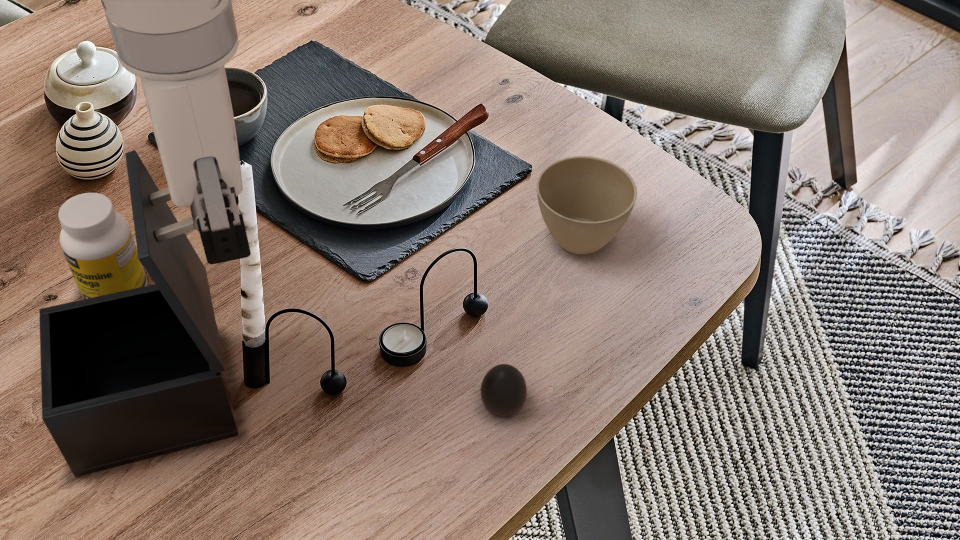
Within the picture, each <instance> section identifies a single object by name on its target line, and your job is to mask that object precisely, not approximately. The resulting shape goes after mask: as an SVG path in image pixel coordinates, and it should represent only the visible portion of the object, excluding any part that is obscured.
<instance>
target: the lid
mask: <svg viewBox="0 0 960 540" xmlns="http://www.w3.org/2000/svg"><path fill="white" fill-rule="evenodd" d="M124 154H125V155H124V156H125V163H126V170H127V179H128V187H129V194H130V203H131V211H132V219H133V228H134V236H135V245H136V248H137V252H138V259H139V261H140V262H141V264H142V265H143V269H144V271H146V272H147V275H148V276H149V277H150V279H151V280H152V282H153V283H154V284H155V285H156V286H157V288H158V289H159V290H160V292H161V293H162V295H163V296H164V298H165V299H166V301H167V302H168V304H169V305H170V307H171V308H172V310H173V311H174V313H175V314H176V316H177V317H178V319H179V320H180V322H181V323H182V325H183V326H184V328H185V329H186V331H187V332H188V334H189V335H190V336H191V338H192V339H193V341H194V342H195V344H196V345H197V347H198V348H199V350H200V351H201V353H202V354H203V356H204V357H205V359H206V360H207V362H208V363H209V365H210V366H211V368H212V369H213V371H214V372H215V373H219V372H222V371H224V370H225V368H224V363H223V357H222V352H221V347H220V341H219V336H218V331H217V327H218V324H217V325H216V323H217V320H216V315H215V310H214V305H213V299H212V295H211V294H212V293H211V288H210V284H209V283H210V282H209V279H208V278H209V277H208V273H207V268H206V266H205V265H204V263H203V261H202V260H201V257H200V256H199V255H198V253H197V252H196V249H195V248H194V246H193V245H192V242H191V241H190V239H189V237H188V236H187V235H186V234H187V233H189V232H192V231H197V232H199V229H198V225H197V222H200V221H199V217H198V213H197V209H196V205H195V201H194V199H193V202H192V204H191V205H189V209H190V215H191V217H189V218H186V219H183V220H179V221H178V220H177V218H176V215H175V214H174V213H173V211H172V209H171V207H170V206H169V204H168V202H169V201H172V199H171V195H170V191H169V187H166V188H163V189H160V188H158V186H157V184H156V182H155V181H154V179H153V176H151V174H150V173H149V171H148V169H147V167H146V166H145V164H144V162H143V161H142V159H141V157H140V156H139V154H138V152H137V150H136V149H133V150H130V151H128V152H127V151H126V152H125V153H124ZM197 187H201V183H198V184H197ZM203 204H204V208H205V212H206V213H207V209H206V204H205V200H203Z"/></svg>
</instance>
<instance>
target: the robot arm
mask: <svg viewBox="0 0 960 540" xmlns="http://www.w3.org/2000/svg"><path fill="white" fill-rule="evenodd" d="M100 1H101V4H102V9H103V11H104V14H105V19H106V22H107V25H108V28H109V31H110V35H111V39H112V42H113V45H114V49H115V52H116V55H117V59H118V61H119V63H120V64H121V66H122V67H123V68H124V69H125V70H126V71H127V72H129V73H131V74H132V75H134V76H135V77H136V76H137V77H139V78H140V83H141V88H142V91H143V95H144V96H143V97H144V99H145V104H146V108H147V109H146V110H147V112H148V113H147V114H148V116H149V120H150V123H151V126H152V132H153V135H154V139H155V142H156V146H157V149H158V153H159V157H160V160H161V164H162V169H163V172H164V175H165V180H166V183H167V188H169V191H170V195H171V199H172V200H171V202H172V204H173V205H174V206H176V207H177V208H183V207H190V205H191V204H192V202H193V199H194V201H195V205H196V209H197V213H198V217H199V221H200V222H197V225H198V229H199V231H198V234H199V237H200V240H201V244H202V247H203V251H204V255H205V259H206V262H207V264H208V265H218V264H223V263H227V262H232V261H237V260H243V259H247V258H248V257H250V256H251V254H252V253H251V248H250V244H249V238H248V235H247V230H246V225H245V220H244V216H243V213H239V209H238V204H239V203H240V200H239V197H238V196H239V195H240V194H241V193H242V191H243V189H244V187H243V177H242V176H243V175H242V168H241V159H240V151H239V144H238V136H237V128H236V123H235V122H236V121H235V117H234V116H235V115H234V110H233V105H232V99H231V92H230V87H229V82H228V77H227V72H226V67H225V65H226V64H227V63H229V61H230V60H232V58H233V57H234V56H235V55H236V53H237V50H238V48H239V45H240V43H239V41H240V40H239V35H238V34H239V33H238V29H237V23H236V20H235V19H236V18H235V14H234V13H235V12H234V9H233V3H232V0H100ZM198 183H201V187H197V184H198ZM203 200H205V204H206V209H207V213H206V212H205V208H204V204H203Z"/></svg>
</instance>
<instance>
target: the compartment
mask: <svg viewBox="0 0 960 540" xmlns="http://www.w3.org/2000/svg"><path fill="white" fill-rule="evenodd" d="M38 313H39V314H38V315H39V348H40V349H39V350H40V353H39V355H40V389H41V419H42V421H43V422H44V425H45V426H46V429H47V430H48V432H49V434H50V435H51V437H52V439H53V441H54V443H55V444H56V447H57V448H58V450H59V452H60V454H61V455H62V456H63V459H64V460H65V462H66V464H67V466H68V468H69V469H70V472H72V475H73V476H74V478H79V477H82V476H87V475H90V474H95V473H100V472H103V471H106V470H110V469H111V470H112V469H114V468H118V467H123V466H126V465H129V464H134V463H138V462H142V461H146V460H149V459H153V458H157V457H161V456H165V455H168V454H173V453H176V452H177V453H178V452H181V451H184V450H188V449H192V448H196V447H201V446H204V445H208V444H212V443H216V442H220V441H223V440H227V439H228V440H229V439H232V438H235V437H239V436H240V433H239V429H238V423H237V418H236V413H235V408H234V401H233V396H232V391H231V386H230V382H229V376H228V371H227V364H226V359H225V354H224V349H223V344H222V339H221V334H220V331H219V327H218V324H217V322H216V325H217V331H218V336H219V341H220V347H221V352H222V357H223V363H224V368H225V370H224V371H222V372H219V373H215V372H214V371H213V369H212V368H211V366H210V365H209V363H208V362H207V360H206V359H205V357H204V356H203V354H202V353H201V351H200V350H199V348H198V347H197V345H196V344H195V342H194V341H193V339H192V338H191V336H190V335H189V334H188V332H187V331H186V329H185V328H184V326H183V325H182V323H181V322H180V320H179V319H178V317H177V316H176V314H175V313H174V311H173V310H172V308H171V307H170V305H169V304H168V302H167V301H166V299H165V298H164V296H163V295H162V293H161V292H160V290H159V289H158V288H157V286H156V285H155V283H154V284H150V285H149V284H148V285H147V286H144V287H140V288H135V289H130V290H126V291H121V292H116V293H112V294H107V295H102V296H97V297H93V298H88V299H83V298H82V299H78V300H75V301H70V302H66V303H61V304H57V305H51V306H46V307H42V308H39V310H38Z"/></svg>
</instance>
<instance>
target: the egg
mask: <svg viewBox="0 0 960 540" xmlns="http://www.w3.org/2000/svg"><path fill="white" fill-rule="evenodd" d="M527 389H528V388H527V382H526V379H525V377H524V375H523V373H521V371H520V370H519V369H518V368H517V367H515V366H514V365H512V364H510V363H509V364H508V363H502V364H501V363H500V364H497V365H494V366H493V367H491V368H490V369H489V370H488V371H487V372H486V374H484V377H483V378H482V381H481V384H480V398H481V402H482V404H483V405H484V407H485V408H486V409H487V411H488V412H490V413H491V414H493V415H495V416H497V417H509V416H512V415H515V414H516V413H517V412H519V411H520V410H521V408H523V406H524V404H525V402H526V399H527V395H528V394H527V393H528V390H527Z"/></svg>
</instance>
